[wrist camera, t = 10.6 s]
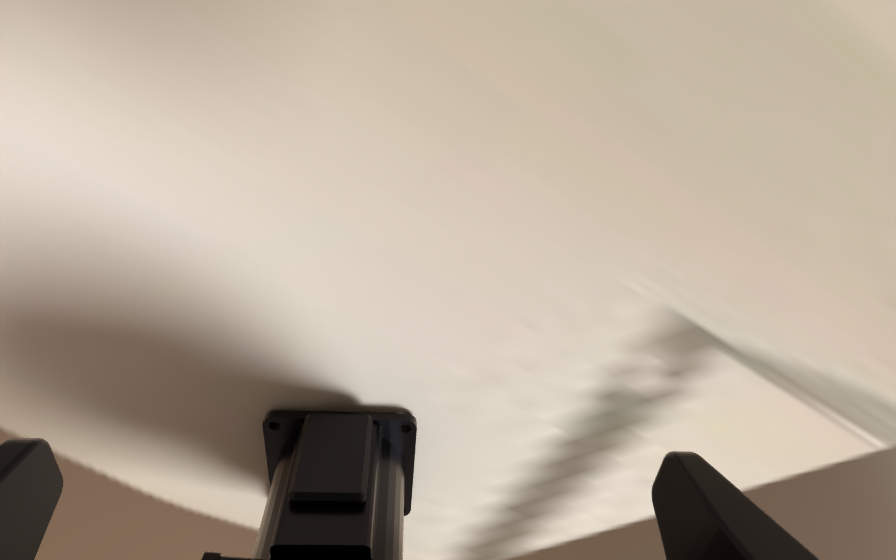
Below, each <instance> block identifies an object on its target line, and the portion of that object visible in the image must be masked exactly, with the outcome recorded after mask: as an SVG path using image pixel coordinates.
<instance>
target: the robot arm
mask: <svg viewBox="0 0 896 560" xmlns="http://www.w3.org/2000/svg"><path fill="white" fill-rule="evenodd" d="M274 422H278V423H274ZM402 425H408V426H402ZM416 431H417V422H416V419H415V417H414V416H412V415H410V414H398V413H358V412H318V411H278V410H275V411H270V412H268V413H267V414H266V415H265V418H264V421H263V433H264V440H265V448H266V456H267V464H268V472H269V479H270V487H271V488H270V492H269V496H268V499H267V503H266V507H265V510H264V514H263V518H262V522H261V525H260V529H259V533H258V537H257V540H256V544H255V548H254V551H253V556H252V558H242V557H229V556H222V554H221V553H217V552H205V553H204V555H203V557H202V560H403V523H404V516H405V515H408V514H409V513H410V511H411V499H412V485H413V472H414V458H415V445H416ZM62 487H63V477H62V474H61V472H60V469H59V467H58V464H57V462H56V460H55V457H54V455H53V452H52V450H51V447H50V445H49V443H48V442H47V441H45V440H44V439H41V438H13V439H10V440H7V441H6V442H3V443H2V444H0V560H34V558H35V556H36V554H37V551H38V549H39V546H40V544H41V541H42V539H43V536H44V534H45V531H46V529H47V527H48V524H49V522H50V520H51V517H52V515H53V512H54V510H55V507H56V505H57V503H58V500H59V498H60V495H61V492H62ZM652 502H653V506H654V511H655V515H656V519H657V523H658V527H659V531H660V535H661V540H662V544H663V548H664V552H665V556H666V560H820V559H819V558H818V557H817V556H815V555H814V554H813V553H812V552H811V551H810V550H809V549H807V548H806V547H805V546H804V545H803V544H802V543H800V542H799V541H798V540H797V539H796V538H795V537H793V536H792V535H791V534H790V533H789V532H788V531H786V530H785V529H784V528H783V527H782V526H781V525H780V524H778V523H777V522H776V521H775V520H774V519H773V518H771V517H770V516H769V515H768V514H767V513H765V511H763V510H762V509H761V508H760V507H759V506H757V505H756V504H755V503H754V502H753V501H752V500H750V499H749V498H748V497H747V496H746V495H745V494H744V493H743V492H741V491H740V490H739V489H738V488H737V487H736V486H734V485H733V484H732V483H731V482H730V481H729V480H727V479H726V478H725V477H724V476H723V475H722V474H720V473H719V472H718V471H717V470H716V469H715V468H714V467H712V466H711V465H710V464H709V463H708V462H707V461H705V460H704V459H703V458H702V457H701V456H699V455H698V454H696V453H694V452H677V451H672V452H669V453H668V454H666V455H665V457H664V459H663V462H662V464H661V466H660V469H659V471H658V474H657V476H656V478H655V481H654V483H653V486H652Z"/></svg>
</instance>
